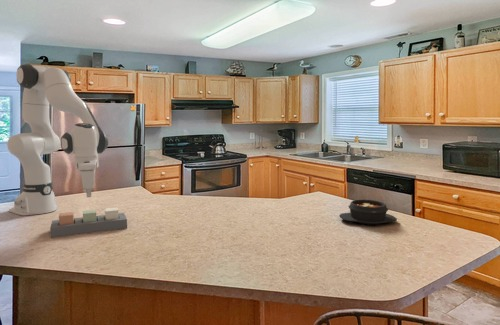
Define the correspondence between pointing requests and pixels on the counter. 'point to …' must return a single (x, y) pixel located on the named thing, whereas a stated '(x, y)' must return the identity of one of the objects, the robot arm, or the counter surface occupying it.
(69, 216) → the terracotta block
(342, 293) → the counter surface
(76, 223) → the console
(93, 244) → the counter surface
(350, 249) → the counter surface
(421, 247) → the counter surface
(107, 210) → the cream block
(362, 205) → the casserole
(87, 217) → the sage green block
